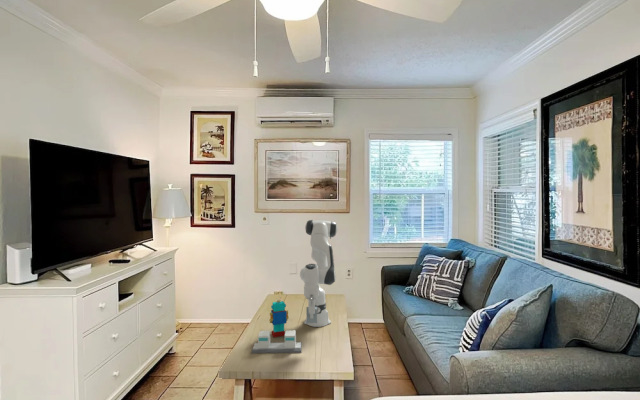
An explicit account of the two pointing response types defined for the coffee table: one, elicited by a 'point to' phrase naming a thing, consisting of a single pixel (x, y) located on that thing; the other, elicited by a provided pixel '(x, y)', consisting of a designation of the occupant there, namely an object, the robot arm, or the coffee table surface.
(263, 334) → the rail rack
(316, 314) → the block
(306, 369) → the coffee table surface
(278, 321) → the toy robot
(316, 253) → the robot arm
